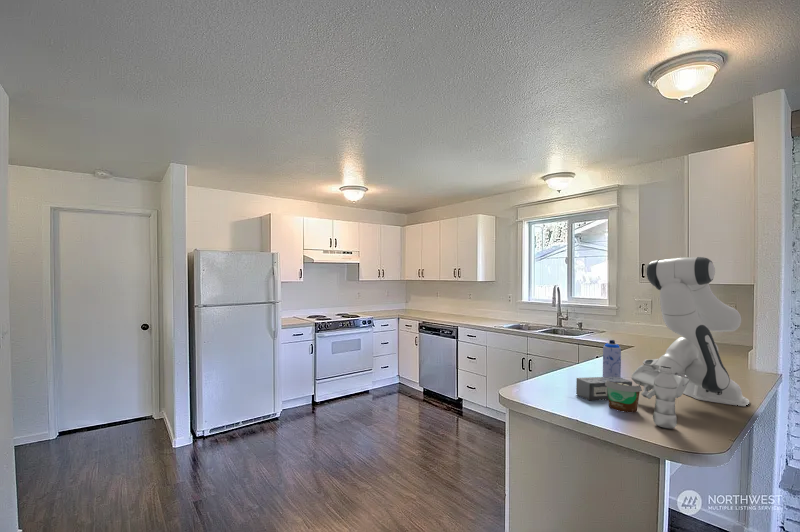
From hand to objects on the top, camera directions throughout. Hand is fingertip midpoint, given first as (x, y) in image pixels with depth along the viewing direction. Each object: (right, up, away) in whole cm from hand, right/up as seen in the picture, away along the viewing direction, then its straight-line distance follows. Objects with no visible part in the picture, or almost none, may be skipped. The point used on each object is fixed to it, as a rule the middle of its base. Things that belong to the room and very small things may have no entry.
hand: (645, 396), depth 149 cm
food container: (-11, -4, -2) cm, 12 cm away
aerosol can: (+6, -5, +35) cm, 36 cm away
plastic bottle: (-5, -4, -18) cm, 20 cm away
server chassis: (-9, -4, +13) cm, 17 cm away
